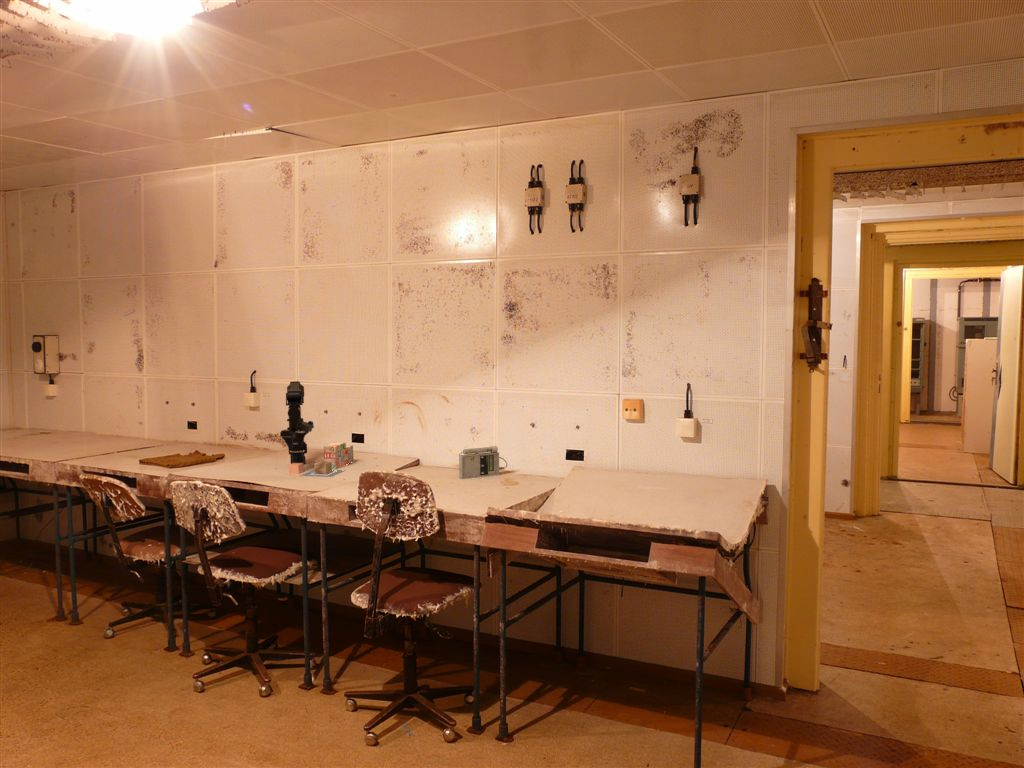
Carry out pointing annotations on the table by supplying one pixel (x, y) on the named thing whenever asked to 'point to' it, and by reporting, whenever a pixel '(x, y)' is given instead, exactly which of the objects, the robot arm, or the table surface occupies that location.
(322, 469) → the walnut base block
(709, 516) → the table surface
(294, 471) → the terracotta cube
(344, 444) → the stack of blocks
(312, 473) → the board
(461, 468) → the geiger counter
